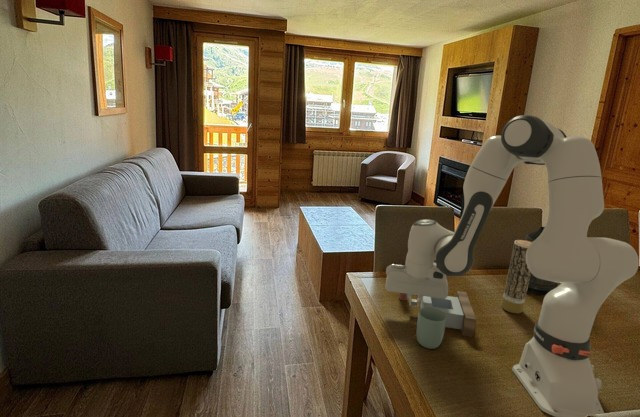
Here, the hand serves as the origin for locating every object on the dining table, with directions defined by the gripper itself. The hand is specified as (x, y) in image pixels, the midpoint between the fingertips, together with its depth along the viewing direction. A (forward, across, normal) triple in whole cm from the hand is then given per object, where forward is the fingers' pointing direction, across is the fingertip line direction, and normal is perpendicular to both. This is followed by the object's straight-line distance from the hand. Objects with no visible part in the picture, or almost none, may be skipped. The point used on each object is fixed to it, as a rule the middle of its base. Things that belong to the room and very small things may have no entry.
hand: (413, 305), depth 127 cm
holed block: (+3, +9, 0) cm, 9 cm away
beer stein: (+3, +50, +35) cm, 61 cm away
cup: (+3, +4, -17) cm, 18 cm away
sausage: (+3, -3, +9) cm, 10 cm away
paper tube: (+3, +35, +13) cm, 37 cm away
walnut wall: (+3, +16, 0) cm, 17 cm away
